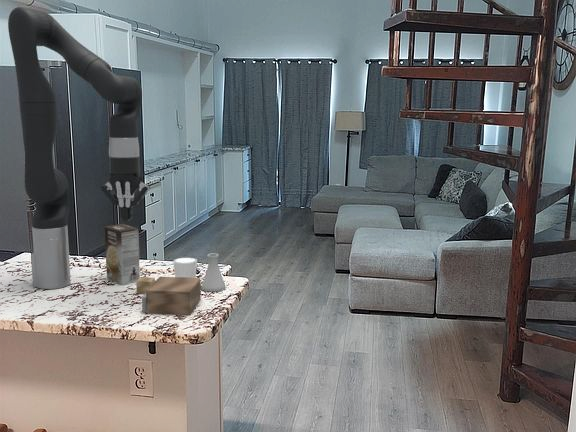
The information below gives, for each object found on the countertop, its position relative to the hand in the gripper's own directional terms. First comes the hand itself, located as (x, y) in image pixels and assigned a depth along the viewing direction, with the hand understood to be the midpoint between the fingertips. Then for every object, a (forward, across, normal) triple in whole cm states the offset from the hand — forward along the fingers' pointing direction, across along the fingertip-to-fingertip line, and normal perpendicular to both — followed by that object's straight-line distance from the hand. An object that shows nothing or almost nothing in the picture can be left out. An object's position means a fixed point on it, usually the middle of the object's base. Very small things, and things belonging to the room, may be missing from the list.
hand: (126, 220), depth 152 cm
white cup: (+21, -12, -14) cm, 28 cm away
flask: (+21, -21, -10) cm, 32 cm away
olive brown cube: (+21, -3, -5) cm, 22 cm away
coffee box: (+21, +7, -15) cm, 27 cm away
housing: (+21, -14, +6) cm, 26 cm away
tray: (+21, -13, +6) cm, 25 cm away
